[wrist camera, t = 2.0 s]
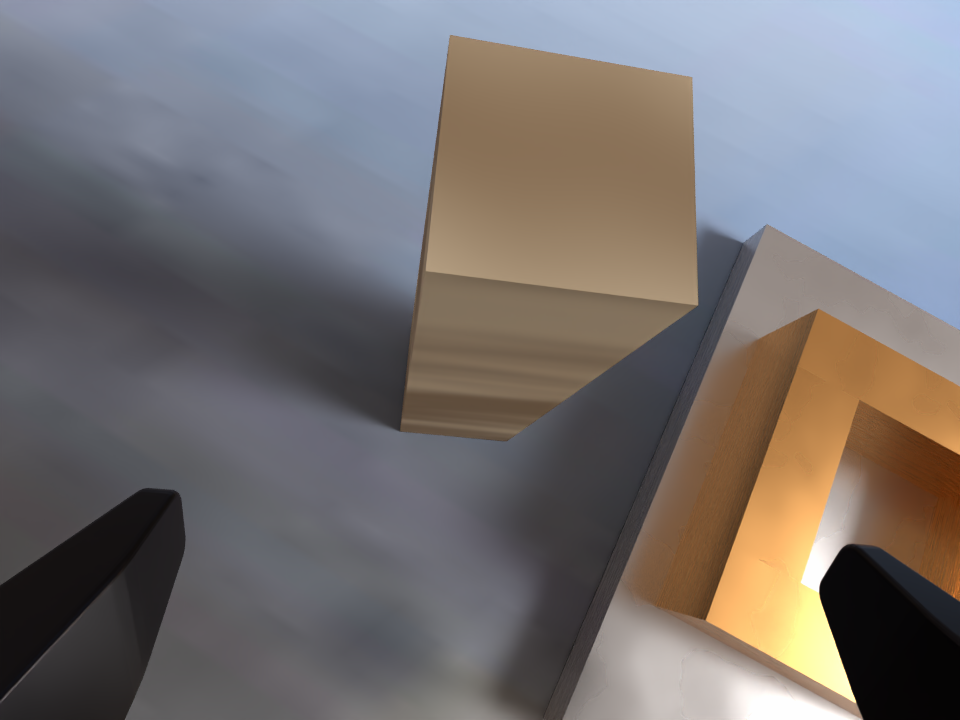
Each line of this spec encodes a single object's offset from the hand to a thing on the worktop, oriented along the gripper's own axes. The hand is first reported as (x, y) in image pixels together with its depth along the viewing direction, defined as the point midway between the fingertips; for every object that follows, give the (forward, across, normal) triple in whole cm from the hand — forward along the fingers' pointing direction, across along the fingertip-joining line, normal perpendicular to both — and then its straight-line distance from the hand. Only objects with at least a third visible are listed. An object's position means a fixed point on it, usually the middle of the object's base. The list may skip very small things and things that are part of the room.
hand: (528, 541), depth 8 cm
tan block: (+12, 0, +5) cm, 12 cm away
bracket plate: (+9, -12, +8) cm, 17 cm away
